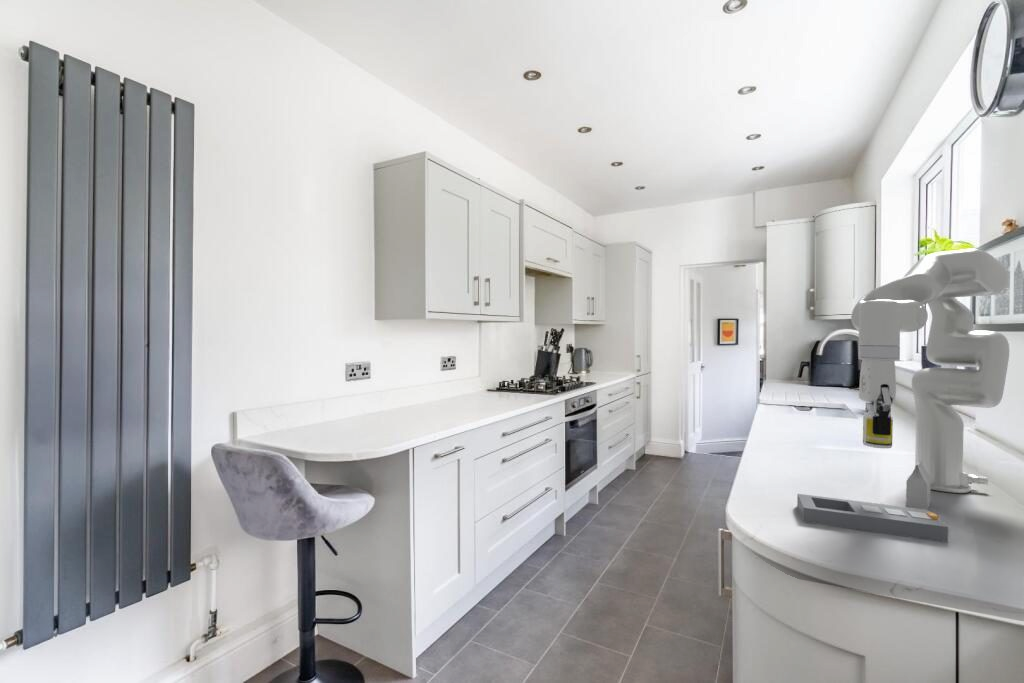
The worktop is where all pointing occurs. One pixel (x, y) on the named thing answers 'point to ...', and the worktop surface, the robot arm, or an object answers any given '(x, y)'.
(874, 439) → the supplement bottle
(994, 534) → the worktop surface
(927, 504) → the white gable-top box
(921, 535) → the power strip
